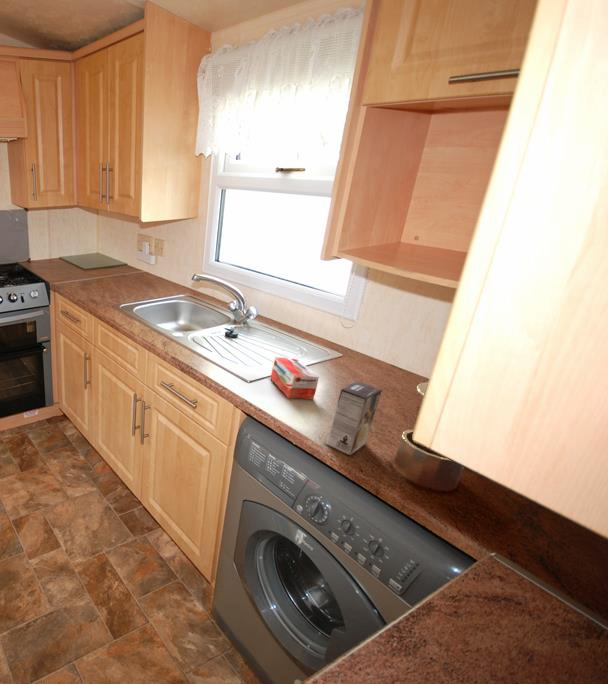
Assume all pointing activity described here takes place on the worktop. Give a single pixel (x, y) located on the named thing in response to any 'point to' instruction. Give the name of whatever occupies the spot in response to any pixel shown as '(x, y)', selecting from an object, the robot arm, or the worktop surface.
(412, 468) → the pot
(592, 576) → the worktop surface
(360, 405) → the coffee box
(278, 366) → the medicine box
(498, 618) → the worktop surface
